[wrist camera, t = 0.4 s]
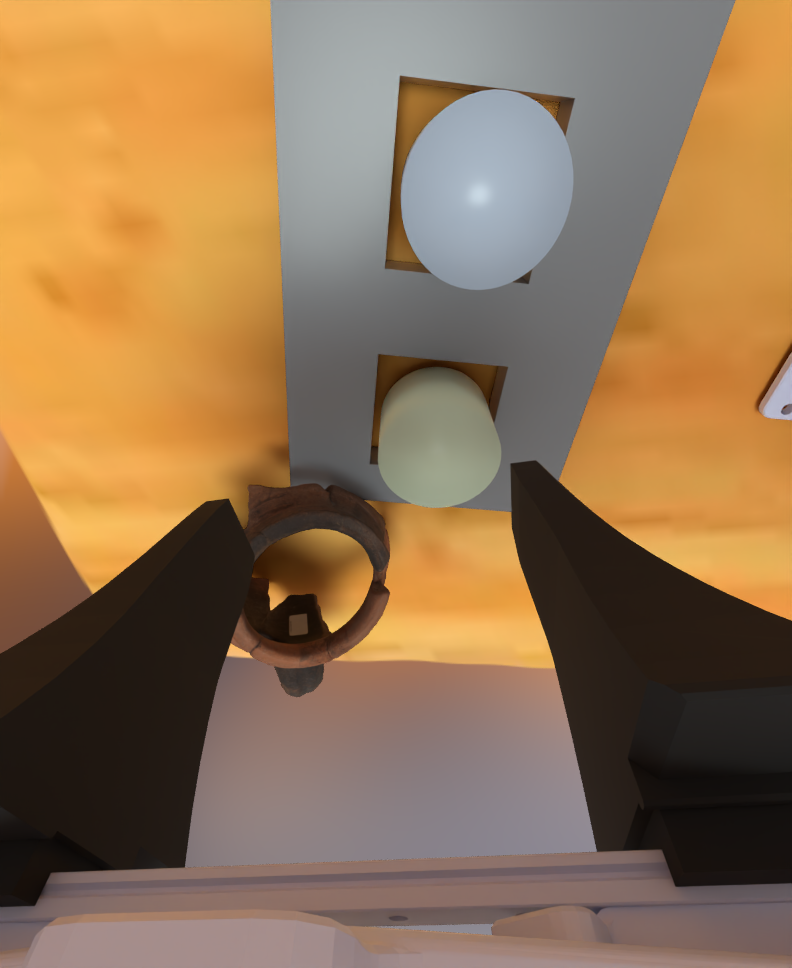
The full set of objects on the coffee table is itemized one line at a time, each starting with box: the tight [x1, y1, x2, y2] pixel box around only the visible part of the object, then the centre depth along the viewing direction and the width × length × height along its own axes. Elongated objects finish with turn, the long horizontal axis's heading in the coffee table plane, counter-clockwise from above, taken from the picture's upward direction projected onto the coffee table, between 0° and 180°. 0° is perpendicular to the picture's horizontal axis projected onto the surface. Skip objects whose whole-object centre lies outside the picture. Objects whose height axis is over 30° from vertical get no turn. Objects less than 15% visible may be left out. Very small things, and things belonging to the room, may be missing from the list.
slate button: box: [401, 89, 573, 290], centre depth 13 cm, size 4×4×3 cm
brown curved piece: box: [231, 483, 390, 697], centre depth 23 cm, size 12×10×8 cm
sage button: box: [378, 367, 501, 508], centre depth 18 cm, size 4×4×3 cm
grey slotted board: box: [270, 0, 735, 512], centre depth 15 cm, size 12×25×2 cm, turn 174°
